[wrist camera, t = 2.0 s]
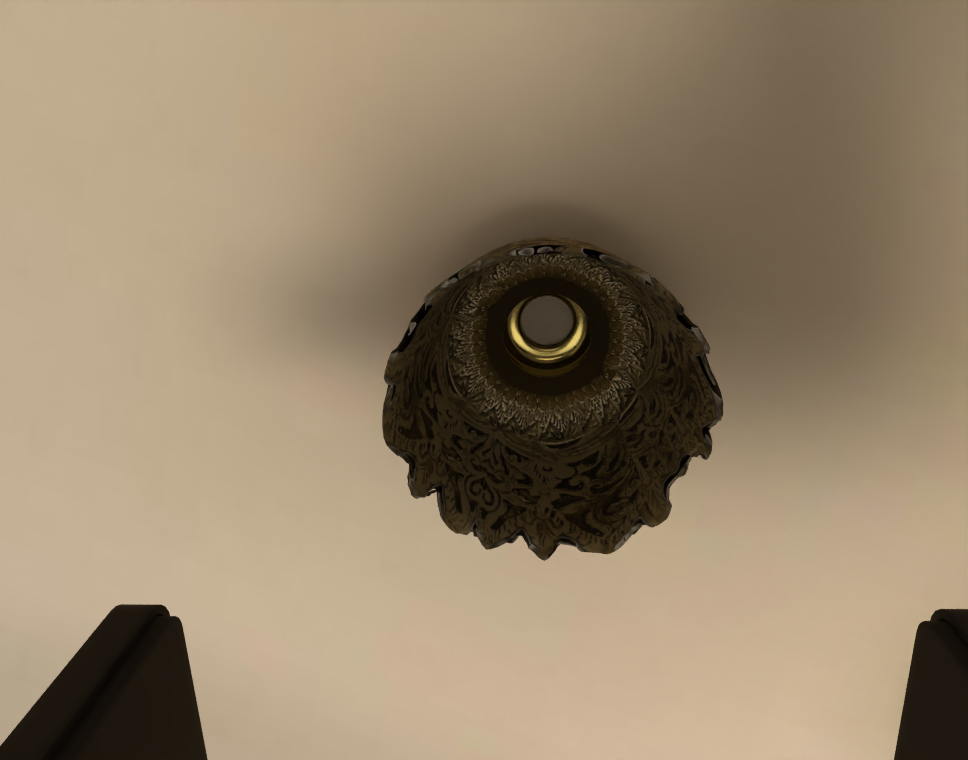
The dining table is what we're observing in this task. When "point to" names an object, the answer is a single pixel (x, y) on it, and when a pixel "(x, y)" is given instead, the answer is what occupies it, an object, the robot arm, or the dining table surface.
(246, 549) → the dining table surface
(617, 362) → the dark brown rounded piece
